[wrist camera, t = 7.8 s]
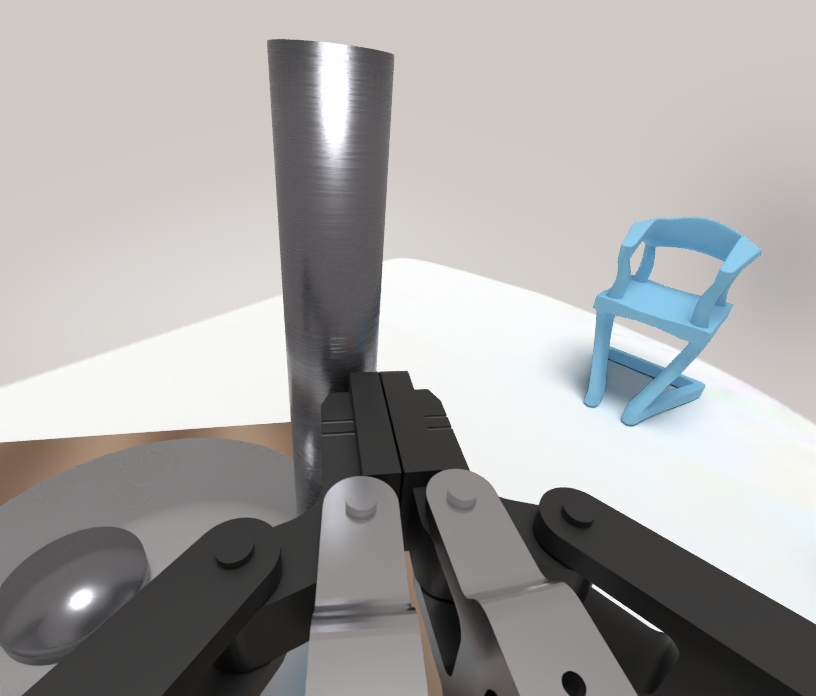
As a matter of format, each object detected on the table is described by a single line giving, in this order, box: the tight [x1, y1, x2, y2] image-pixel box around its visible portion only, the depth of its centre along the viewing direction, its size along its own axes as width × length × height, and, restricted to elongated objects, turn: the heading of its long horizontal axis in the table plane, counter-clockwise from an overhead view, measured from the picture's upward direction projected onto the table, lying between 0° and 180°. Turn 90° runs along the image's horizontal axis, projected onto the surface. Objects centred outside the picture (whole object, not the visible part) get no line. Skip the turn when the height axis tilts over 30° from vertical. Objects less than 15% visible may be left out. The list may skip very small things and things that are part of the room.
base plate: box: [0, 422, 443, 696], centre depth 14 cm, size 24×20×1 cm
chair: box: [584, 217, 762, 425], centre depth 28 cm, size 8×8×12 cm
